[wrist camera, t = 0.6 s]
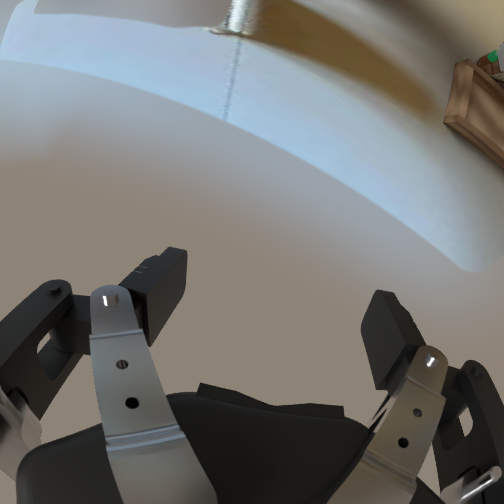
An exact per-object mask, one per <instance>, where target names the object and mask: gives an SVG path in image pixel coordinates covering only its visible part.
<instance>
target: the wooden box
mask: <svg viewBox="0 0 504 504" xmlns="http://www.w3.org/2000/svg"><path fill="white" fill-rule="evenodd" d="M443 123H445V124H446V125H448V126H449V127H451V128H452V129H454V130H455V131H456V132H458V133H459V134H461V135H462V136H463V137H465V138H466V139H468V140H469V141H470V142H472V143H473V144H474V145H475V146H477V147H478V148H479V149H481V150H482V151H483V152H484V153H486V154H487V155H488V156H489V157H490V158H492V159H493V160H494V161H495V162H496V163H497V164H499V165H500V166H501V167H502V168H503V169H504V89H503V88H502V87H501V86H500V85H499V84H498V83H497V82H496V81H495V80H493V79H492V78H491V77H490V76H489V75H488V74H487V73H485V72H484V71H483V70H482V69H481V68H479V67H478V66H477V65H476V64H474V63H473V62H472V61H471V60H469V59H466V60H464V61H461V62H458V63H456V64H455V69H454V75H453V81H452V86H451V91H450V96H449V101H448V105H447V110H446V114H445V118H444V122H443Z"/></svg>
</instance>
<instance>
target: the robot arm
mask: <svg viewBox="0 0 504 504" xmlns="http://www.w3.org/2000/svg"><path fill="white" fill-rule="evenodd" d="M186 272H187V251H186V250H183V249H178V248H173V247H168V248H167V249H166V250H165V251H164V252H163V253H162V254H161V255H160V256H157V255H155V256H152V257H150V258H147V259H145V260H144V261H143V262H142V263H141V264H140V265H139V266H138V267H137V268H135V269H134V271H133V272H131V273H130V274H129V275H128V276H127V277H126V278H125V279H124V280H123V281H122V282H121V283H120V284H118V285H106V286H102V287H99V288H97V289H96V290H94V291H93V292H92V294H91V296H82V295H73V294H72V288H71V285H70V284H69V283H68V282H67V281H64V280H51V281H47V282H45V283H43V284H42V285H40V286H39V287H38V288H37V289H36V290H35V291H33V292H32V293H31V294H30V295H29V296H28V297H27V298H26V299H24V300H23V301H22V302H21V303H20V304H19V305H18V306H16V307H15V309H13V310H12V311H11V312H10V313H9V314H8V315H7V316H6V317H5V318H4V319H3V320H2V321H1V322H0V469H1V470H2V471H3V472H4V473H6V474H7V475H8V476H9V477H11V478H12V479H13V480H14V481H15V482H16V494H17V504H504V405H503V403H502V401H501V398H500V396H499V394H498V392H497V390H496V388H495V386H494V383H493V381H492V380H491V377H490V376H489V374H488V372H487V370H486V369H485V368H484V366H482V365H481V364H480V363H478V362H476V361H474V360H468V361H466V362H465V363H464V365H463V366H462V368H461V369H457V368H454V367H451V366H448V361H447V358H446V357H445V355H444V354H443V353H442V352H441V351H440V350H438V349H436V348H434V347H432V346H428V345H426V343H425V341H424V339H423V337H422V335H421V333H420V332H419V330H418V328H417V326H416V324H415V322H413V319H412V317H411V315H410V313H409V312H408V311H407V310H406V309H405V308H404V307H403V306H402V305H401V304H400V303H399V301H398V300H397V297H396V296H395V294H394V293H393V292H389V291H383V290H376V291H375V293H374V295H373V297H372V300H371V302H370V304H369V307H368V309H367V311H366V313H365V315H364V318H363V320H362V324H361V335H362V338H363V341H364V345H365V348H366V352H367V356H368V360H369V363H370V367H371V371H372V375H373V379H374V383H375V388H376V390H388V394H387V395H386V397H385V398H384V399H383V401H382V402H381V404H380V406H379V407H378V409H377V410H376V412H375V413H374V415H373V417H372V418H371V419H370V421H369V422H368V424H367V425H366V426H364V425H363V424H361V423H359V422H357V421H355V420H353V419H350V418H348V417H345V416H344V408H343V406H335V405H324V404H314V403H306V404H296V405H282V406H273V405H269V404H267V403H264V402H261V401H259V400H256V399H254V398H252V397H249V396H247V395H244V394H242V393H240V392H237V391H234V390H229V389H225V388H220V387H216V386H212V385H208V384H204V383H200V385H199V388H198V390H197V392H180V393H173V394H169V395H165V393H164V390H163V388H162V385H161V383H160V380H159V377H158V374H157V372H156V369H155V366H154V363H153V360H152V358H151V354H150V352H149V349H148V346H149V347H151V346H152V344H153V342H154V341H155V339H156V338H157V336H158V334H159V333H160V331H161V330H162V328H163V326H164V325H165V323H166V322H167V320H168V319H169V317H170V315H171V314H172V312H173V311H174V309H175V308H176V306H177V304H178V303H179V301H180V300H181V298H182V296H183V294H184V291H185V285H186ZM48 332H49V335H50V337H51V338H50V340H49V341H48V342H47V343H46V344H45V346H44V347H43V348H42V349H41V350H40V351H39V353H38V354H37V347H38V344H39V342H40V341H41V340H42V339H43V337H44V336H45V335H46V334H47V333H48ZM83 354H85V355H91V361H92V369H93V377H94V384H95V389H96V396H97V402H98V407H99V412H100V417H101V421H102V423H100V424H97V425H95V426H92V427H90V428H87V429H85V430H82V431H79V432H77V433H74V434H71V435H69V436H66V437H63V438H60V439H57V440H54V441H51V442H48V443H45V444H42V445H41V439H40V437H41V433H42V429H41V424H40V420H41V418H42V416H43V414H44V413H45V411H46V410H47V408H48V407H49V405H50V403H51V402H52V400H53V399H54V397H55V395H56V394H57V393H58V391H59V389H60V388H61V386H62V385H63V383H64V382H65V380H66V379H67V377H68V376H69V375H70V373H71V372H72V370H73V369H74V367H75V366H76V364H77V363H78V362H79V360H80V358H81V357H82V356H83ZM467 407H468V408H469V411H470V414H471V417H472V420H473V427H472V430H471V431H470V433H469V434H468V435H467V436H466V437H465V436H464V433H463V430H462V426H461V423H460V420H459V416H460V415H461V413H462V412H463V411H464V410H465V409H466V408H467ZM431 443H432V445H433V450H434V455H435V461H436V466H437V472H438V478H439V486H440V497H438V496H437V495H436V494H435V493H434V492H433V491H432V490H431V489H430V488H429V487H428V486H427V485H426V484H425V483H424V482H423V481H421V480H420V478H418V477H417V475H418V473H419V471H420V469H421V467H422V464H423V462H424V460H425V458H426V455H427V453H428V450H429V448H430V446H431Z"/></svg>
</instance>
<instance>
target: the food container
mask: <svg viewBox="0 0 504 504" xmlns="http://www.w3.org/2000/svg"><path fill="white" fill-rule="evenodd" d="M477 66H478V67H479V68H481V69H482V70H483V71H484V72H485V73H487V74H488V75H489V76H490V77H491V78H492V79H493V80H495V81H496V82H497V83H498V84H502V85H504V42H502V43H501V45H500V46H499V49H497V50H495V51H493V52H491V53H489V54H487V55H485V56H483V57H481V58H480V59H479V60H478V62H477Z"/></svg>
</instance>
